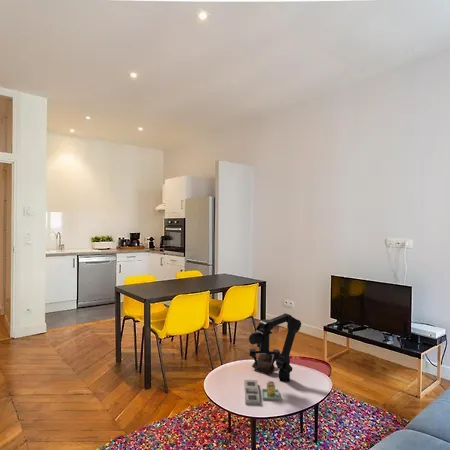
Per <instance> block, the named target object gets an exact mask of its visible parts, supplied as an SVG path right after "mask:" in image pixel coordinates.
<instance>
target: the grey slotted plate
mask: <svg viewBox="0 0 450 450" xmlns="http://www.w3.org/2000/svg"><path fill="white" fill-rule="evenodd" d="M243 384H244V385H243V386H244V403H245V405H260V403H261V402H260V401H261V399H260V398H261V396H260V391H259V390H260V389H259V384H258V380H256V379H244V381H243Z"/></svg>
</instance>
